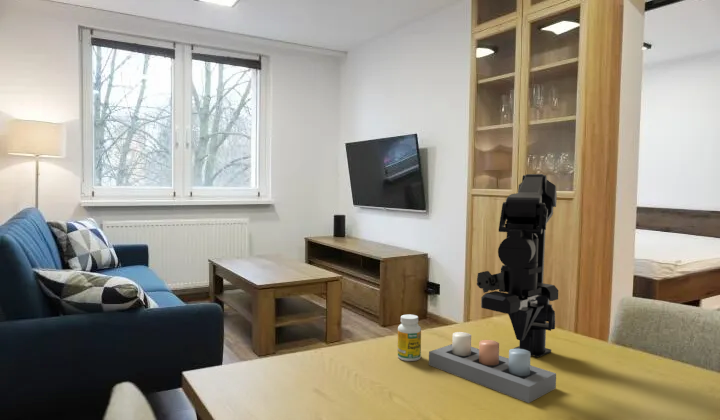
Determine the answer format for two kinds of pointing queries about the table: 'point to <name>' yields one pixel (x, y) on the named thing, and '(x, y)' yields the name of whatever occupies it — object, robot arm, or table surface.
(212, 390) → the table surface
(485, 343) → the peach rounded piece
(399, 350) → the supplement bottle
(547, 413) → the table surface
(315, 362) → the table surface
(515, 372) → the slate button
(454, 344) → the white short cylinder
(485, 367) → the grey socket tray
